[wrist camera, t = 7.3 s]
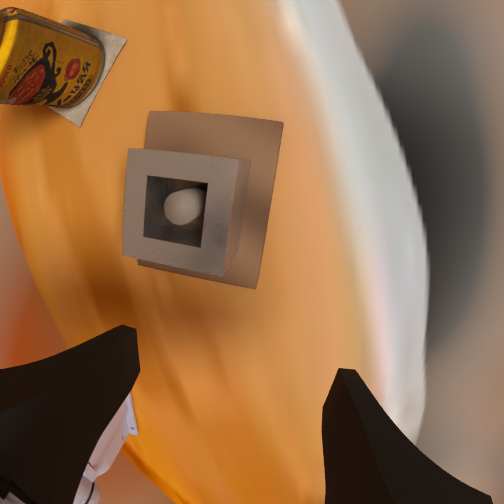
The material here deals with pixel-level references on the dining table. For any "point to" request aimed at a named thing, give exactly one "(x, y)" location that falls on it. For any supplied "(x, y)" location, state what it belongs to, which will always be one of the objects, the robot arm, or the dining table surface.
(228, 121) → the block
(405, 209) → the dining table surface
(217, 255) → the block with square hole
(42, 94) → the condiment
